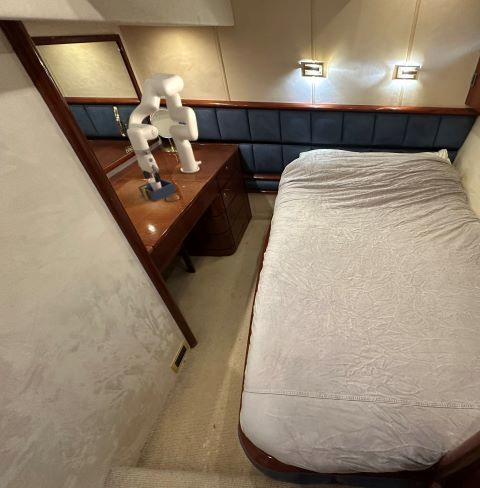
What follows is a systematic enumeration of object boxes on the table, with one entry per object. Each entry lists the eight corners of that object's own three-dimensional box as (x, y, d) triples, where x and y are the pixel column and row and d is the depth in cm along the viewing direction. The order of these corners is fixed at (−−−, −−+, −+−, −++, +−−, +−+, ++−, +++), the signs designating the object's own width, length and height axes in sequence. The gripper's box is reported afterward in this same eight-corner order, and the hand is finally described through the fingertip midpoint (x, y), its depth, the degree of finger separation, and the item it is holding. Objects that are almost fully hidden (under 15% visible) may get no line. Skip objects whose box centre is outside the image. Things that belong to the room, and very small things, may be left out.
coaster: (173, 194, 165) (173, 193, 165) (182, 197, 163) (182, 196, 162) (163, 199, 160) (162, 198, 159) (171, 202, 157) (171, 202, 157)
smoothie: (166, 191, 167) (159, 170, 158) (162, 196, 162) (154, 175, 153) (156, 191, 167) (148, 170, 158) (151, 196, 162) (142, 175, 153)
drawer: (162, 186, 172) (158, 174, 166) (176, 191, 168) (172, 179, 162) (139, 197, 160) (134, 184, 155) (153, 202, 156) (148, 190, 151)
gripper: (159, 153, 147) (168, 181, 158) (138, 146, 153) (149, 174, 163) (146, 156, 142) (157, 185, 153) (126, 150, 147) (137, 178, 158)
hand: (153, 179), depth 158 cm, fingers open, 9 cm apart
